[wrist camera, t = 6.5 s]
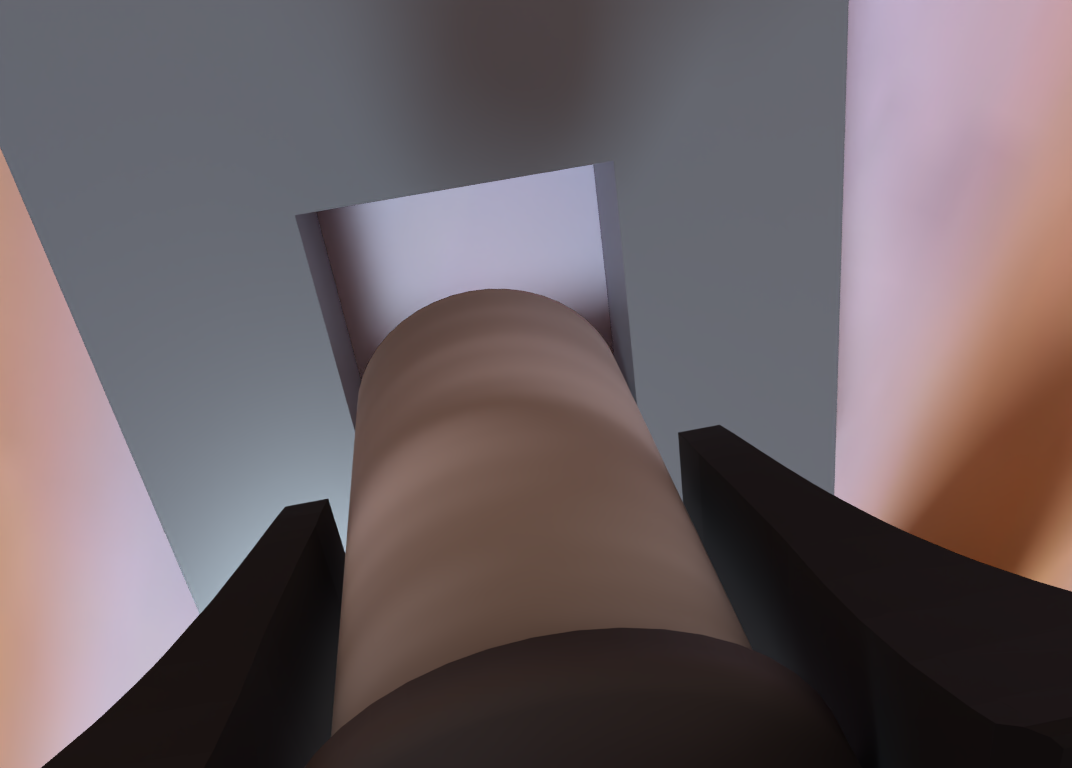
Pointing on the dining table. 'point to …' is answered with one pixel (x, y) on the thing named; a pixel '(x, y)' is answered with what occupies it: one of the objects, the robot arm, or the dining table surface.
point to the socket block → (408, 169)
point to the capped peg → (537, 570)
